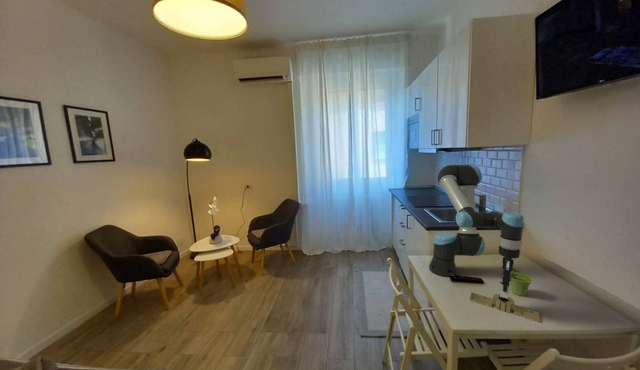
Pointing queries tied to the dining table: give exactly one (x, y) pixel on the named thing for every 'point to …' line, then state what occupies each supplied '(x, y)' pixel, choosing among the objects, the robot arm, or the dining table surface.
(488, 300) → the hinge
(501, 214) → the robot arm
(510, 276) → the pin
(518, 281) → the plant pot
